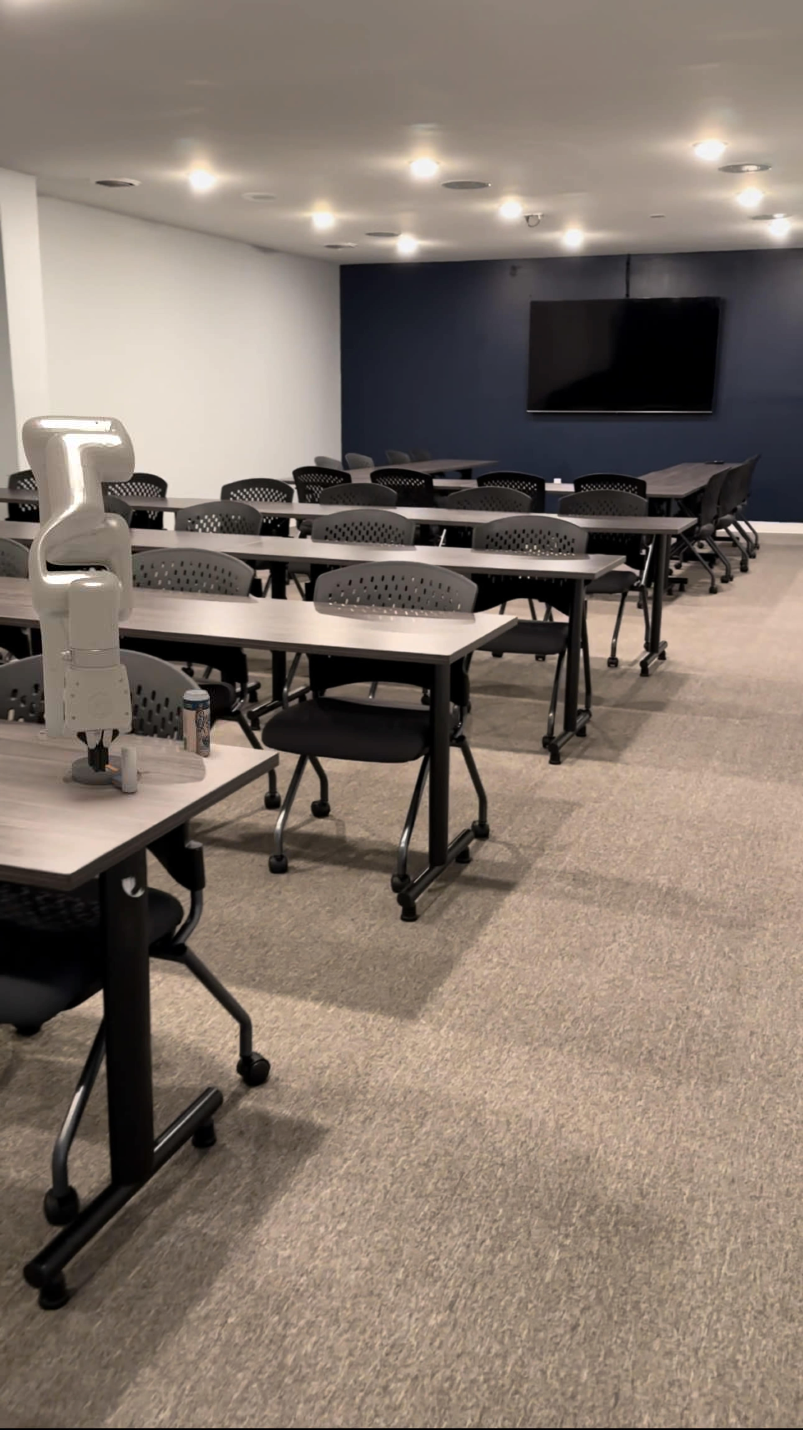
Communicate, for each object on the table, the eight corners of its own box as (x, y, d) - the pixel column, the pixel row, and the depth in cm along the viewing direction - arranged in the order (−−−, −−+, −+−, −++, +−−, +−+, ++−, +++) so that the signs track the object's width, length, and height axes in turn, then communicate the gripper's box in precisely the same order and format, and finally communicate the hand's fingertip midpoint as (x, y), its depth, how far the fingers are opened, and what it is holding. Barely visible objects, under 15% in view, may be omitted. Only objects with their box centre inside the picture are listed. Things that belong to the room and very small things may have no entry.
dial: (61, 772, 206) (59, 732, 204) (115, 762, 212) (114, 724, 210) (105, 797, 194) (103, 755, 193) (160, 786, 201) (159, 745, 199)
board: (37, 776, 209) (37, 769, 208) (127, 760, 219) (127, 753, 219) (91, 808, 194) (91, 800, 194) (185, 789, 205) (184, 781, 204)
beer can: (204, 759, 221) (204, 695, 218) (179, 757, 222) (179, 693, 219) (213, 752, 226) (213, 689, 223) (189, 750, 227) (188, 687, 224)
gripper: (50, 664, 184) (55, 781, 188) (148, 659, 190) (150, 771, 195) (41, 655, 190) (46, 768, 195) (136, 650, 197) (139, 759, 201)
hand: (98, 769), depth 195 cm, fingers closed
